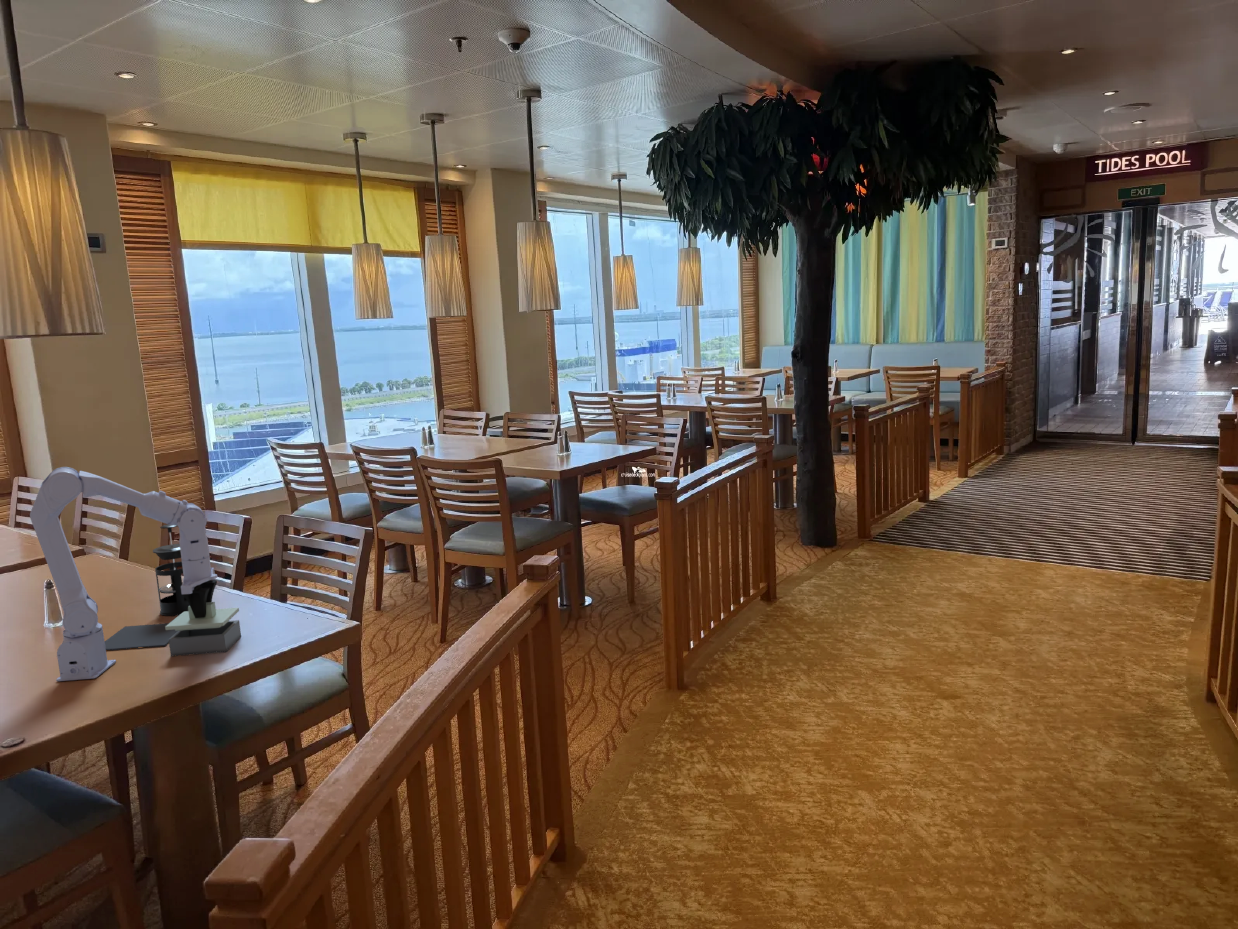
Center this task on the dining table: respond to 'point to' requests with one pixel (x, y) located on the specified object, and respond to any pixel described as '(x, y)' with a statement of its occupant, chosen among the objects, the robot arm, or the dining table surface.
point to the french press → (176, 601)
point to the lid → (211, 620)
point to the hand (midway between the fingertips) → (202, 615)
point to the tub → (205, 640)
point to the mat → (140, 637)
